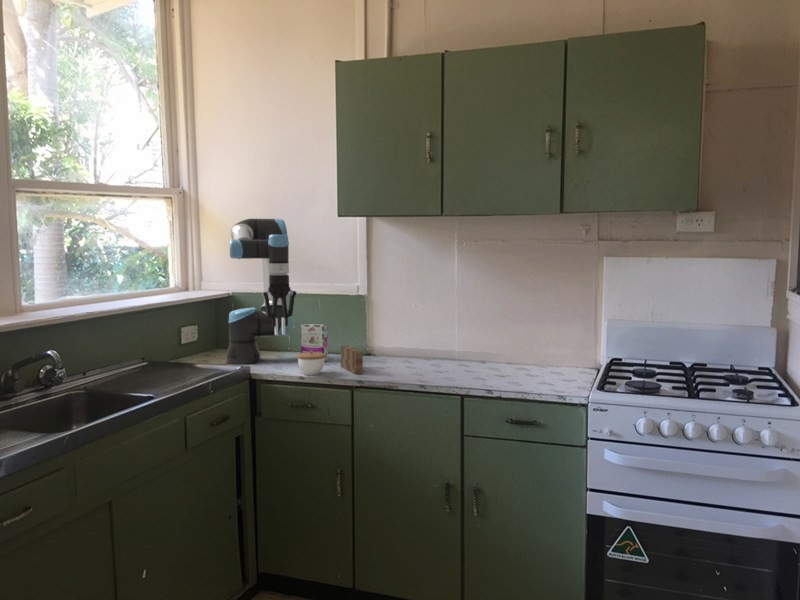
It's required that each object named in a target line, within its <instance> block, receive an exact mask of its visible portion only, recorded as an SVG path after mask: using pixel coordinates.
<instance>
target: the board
mask: <svg viewBox="0 0 800 600" xmlns="http://www.w3.org/2000/svg"><path fill="white" fill-rule="evenodd" d="M363 357H364V355H363V351H362V350H359V349H358V348H354V347H353V346H351V345H348V344H347V345H340V362H341V363H340V367H341V368H343V369H344V370H346V371H348V372H350V373H351V374H353V375H363V374H364V371H363V369H364V368H363V367H364V365H363V362H364V358H363Z"/></svg>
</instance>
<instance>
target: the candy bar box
mask: <svg viewBox="0 0 800 600" xmlns="http://www.w3.org/2000/svg"><path fill="white" fill-rule="evenodd" d="M328 335H329V334H328V324H325V323H324V324H321V323H320V324H319V323H318V324H317V323H303V324H300V354H301V353H310V350H312V351H313V352H316V353H323V354H325V357H324V363H326V362H328V361H329V356H328V355H329V353H328V351H329V347H328V345H329V343H328V341H329V339H328ZM325 361H326V362H325Z"/></svg>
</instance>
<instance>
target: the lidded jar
mask: <svg viewBox="0 0 800 600" xmlns="http://www.w3.org/2000/svg"><path fill="white" fill-rule="evenodd" d="M324 357H325V354H323V353H316V352H313V351H312V350H310V353H301V352H300V353H299V354H297V363H298V367H299V370H300V371H301V372H302V373H303V375H305V376H317V375H320V372H322V371H323V369H324V366H325V362H324Z"/></svg>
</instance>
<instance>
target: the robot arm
mask: <svg viewBox="0 0 800 600" xmlns="http://www.w3.org/2000/svg"><path fill="white" fill-rule="evenodd" d="M230 237H231V239H230V241H229V258H230V259H234V260H235V259H237V260H243V259H245V260H246V259H249V260H250V259H258V260H259V259H261V260H262V277H263V278H262V282H263V283H262V284H263V291H262V292H261V294H262V296H263V304H262V305H261V306H260V310H257V308H256V307H245V308H239V309H235V310H232V311H230V312H229V314H228V326H229V327H228V331H229V332H228V335H229V337H228V339H229V340H228V341H229V343H228V344H229V345H228V348H227V352H226V355H225V363H227V364H231V365H233V364H234V365H246V364H247V365H248V364H255V363H259V362H261V361H262V356H261V353H260V350H259V347H258V343H257V338H270V337H271V338H272V337H276V338H278V337H286V336H287V335H288V334H289V331H290V323H291V317H292V316H293V314H294V313H293V312H294V304H295V303H294V302H295V297H296V295H297V291H296V290H292V289H291V287H290V276H289V273H290V267H289V265H290V264H289V245H290V244H289V243H290V242H289V235H288V229H287V225H286V223H285V221H284V220H283V219H281V218H246V219H243V220H240V221H239V222H237V223H235V224H234V226H232V228H231V230H230ZM288 295H289V302H288V304H287V296H288Z"/></svg>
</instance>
